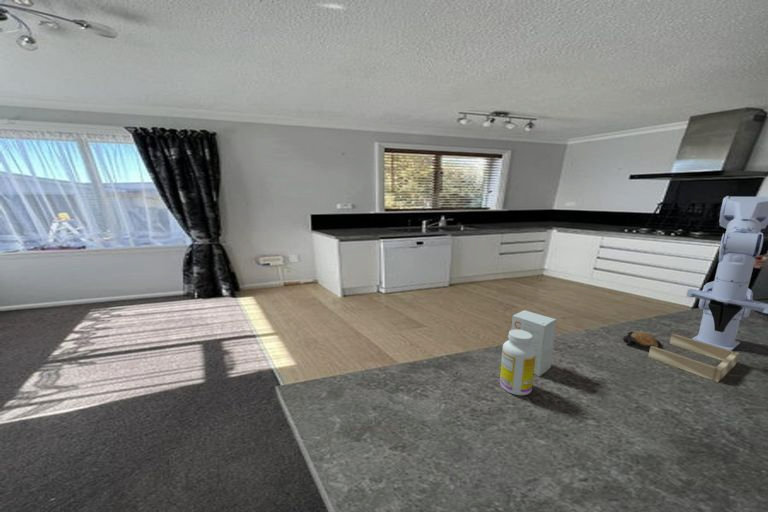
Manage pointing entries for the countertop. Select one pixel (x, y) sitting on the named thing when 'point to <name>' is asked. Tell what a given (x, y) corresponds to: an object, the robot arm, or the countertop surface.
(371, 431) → the countertop surface
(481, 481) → the countertop surface
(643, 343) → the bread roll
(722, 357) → the frame
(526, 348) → the supplement bottle
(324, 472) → the countertop surface
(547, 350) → the small box
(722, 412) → the countertop surface
